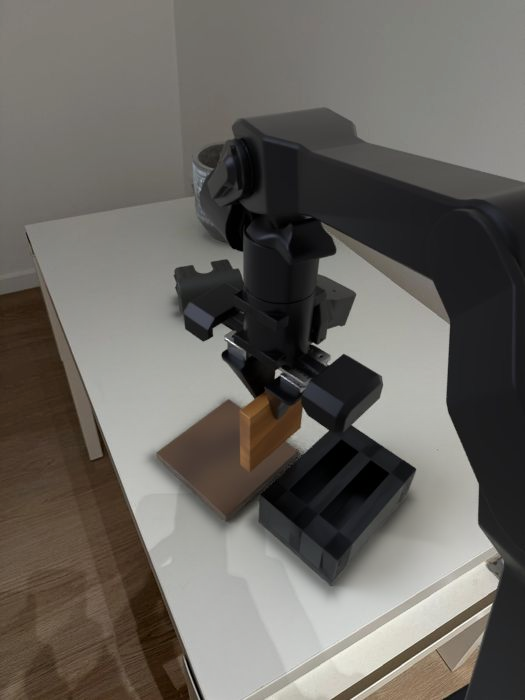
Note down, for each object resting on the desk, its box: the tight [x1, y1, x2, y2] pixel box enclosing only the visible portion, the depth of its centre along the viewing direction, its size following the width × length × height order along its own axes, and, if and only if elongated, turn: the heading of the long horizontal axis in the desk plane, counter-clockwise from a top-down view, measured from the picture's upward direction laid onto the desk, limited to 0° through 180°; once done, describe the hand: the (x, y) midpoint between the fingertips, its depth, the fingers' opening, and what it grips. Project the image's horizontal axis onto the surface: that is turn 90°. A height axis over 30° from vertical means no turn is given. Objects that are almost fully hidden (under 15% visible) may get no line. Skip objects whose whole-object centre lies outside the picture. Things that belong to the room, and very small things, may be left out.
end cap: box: [173, 258, 243, 316], centre depth 82 cm, size 10×7×7 cm
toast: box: [240, 392, 304, 472], centre depth 52 cm, size 1×8×8 cm, turn 137°
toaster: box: [258, 424, 418, 587], centre depth 56 cm, size 10×15×6 cm, turn 137°
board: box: [155, 399, 299, 523], centre depth 62 cm, size 12×12×1 cm
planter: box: [191, 140, 227, 243], centre depth 97 cm, size 14×14×15 cm
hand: (273, 412), depth 51 cm, fingers closed on toast, 1 cm apart
